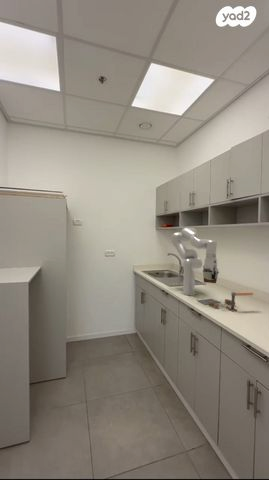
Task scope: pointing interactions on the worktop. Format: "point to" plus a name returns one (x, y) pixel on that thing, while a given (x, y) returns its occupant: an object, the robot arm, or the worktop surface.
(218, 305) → the wooden blocks
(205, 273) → the food container
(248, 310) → the worktop surface
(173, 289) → the worktop surface
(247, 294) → the tall wooden post
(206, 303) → the mat
